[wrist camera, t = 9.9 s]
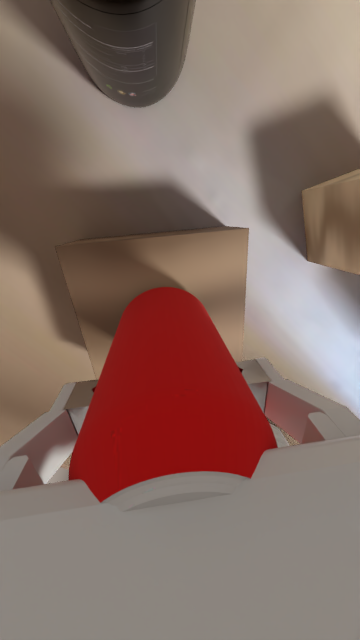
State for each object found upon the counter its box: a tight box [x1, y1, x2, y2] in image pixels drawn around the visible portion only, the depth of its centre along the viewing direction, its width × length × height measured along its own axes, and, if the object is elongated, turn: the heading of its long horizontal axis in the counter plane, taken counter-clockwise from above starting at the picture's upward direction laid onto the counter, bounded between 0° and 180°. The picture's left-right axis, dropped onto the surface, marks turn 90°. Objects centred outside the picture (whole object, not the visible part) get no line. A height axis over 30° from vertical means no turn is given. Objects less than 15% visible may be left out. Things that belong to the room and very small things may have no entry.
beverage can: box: [69, 287, 278, 512], centre depth 10 cm, size 6×6×12 cm
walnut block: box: [55, 226, 249, 380], centre depth 18 cm, size 12×12×5 cm
